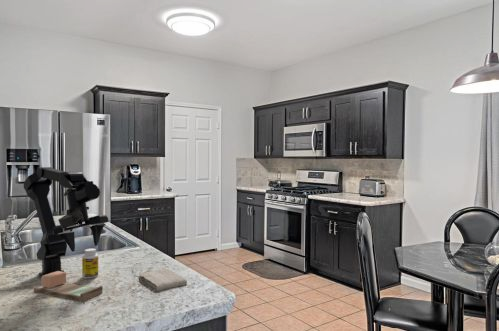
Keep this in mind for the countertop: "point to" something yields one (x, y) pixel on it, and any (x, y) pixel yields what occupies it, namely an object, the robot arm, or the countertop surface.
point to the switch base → (71, 291)
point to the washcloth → (162, 279)
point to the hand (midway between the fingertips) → (84, 248)
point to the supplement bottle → (90, 264)
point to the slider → (53, 279)
